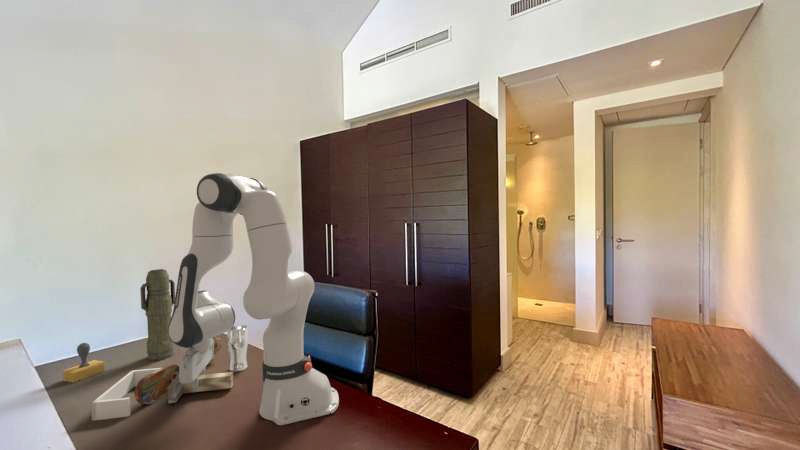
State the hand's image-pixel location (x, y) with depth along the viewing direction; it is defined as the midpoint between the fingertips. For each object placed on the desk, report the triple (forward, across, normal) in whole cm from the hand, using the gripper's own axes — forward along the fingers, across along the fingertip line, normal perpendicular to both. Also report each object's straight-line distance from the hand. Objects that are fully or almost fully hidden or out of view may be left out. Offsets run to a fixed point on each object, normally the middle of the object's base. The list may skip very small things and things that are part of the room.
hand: (198, 384), depth 113 cm
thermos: (+3, +36, +26) cm, 44 cm away
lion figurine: (+3, +25, +6) cm, 26 cm away
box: (+2, 0, +19) cm, 19 cm away
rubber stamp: (+3, +23, +45) cm, 50 cm away
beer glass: (+3, +16, -8) cm, 18 cm away
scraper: (+2, 0, -2) cm, 3 cm away
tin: (+3, 0, +11) cm, 12 cm away
